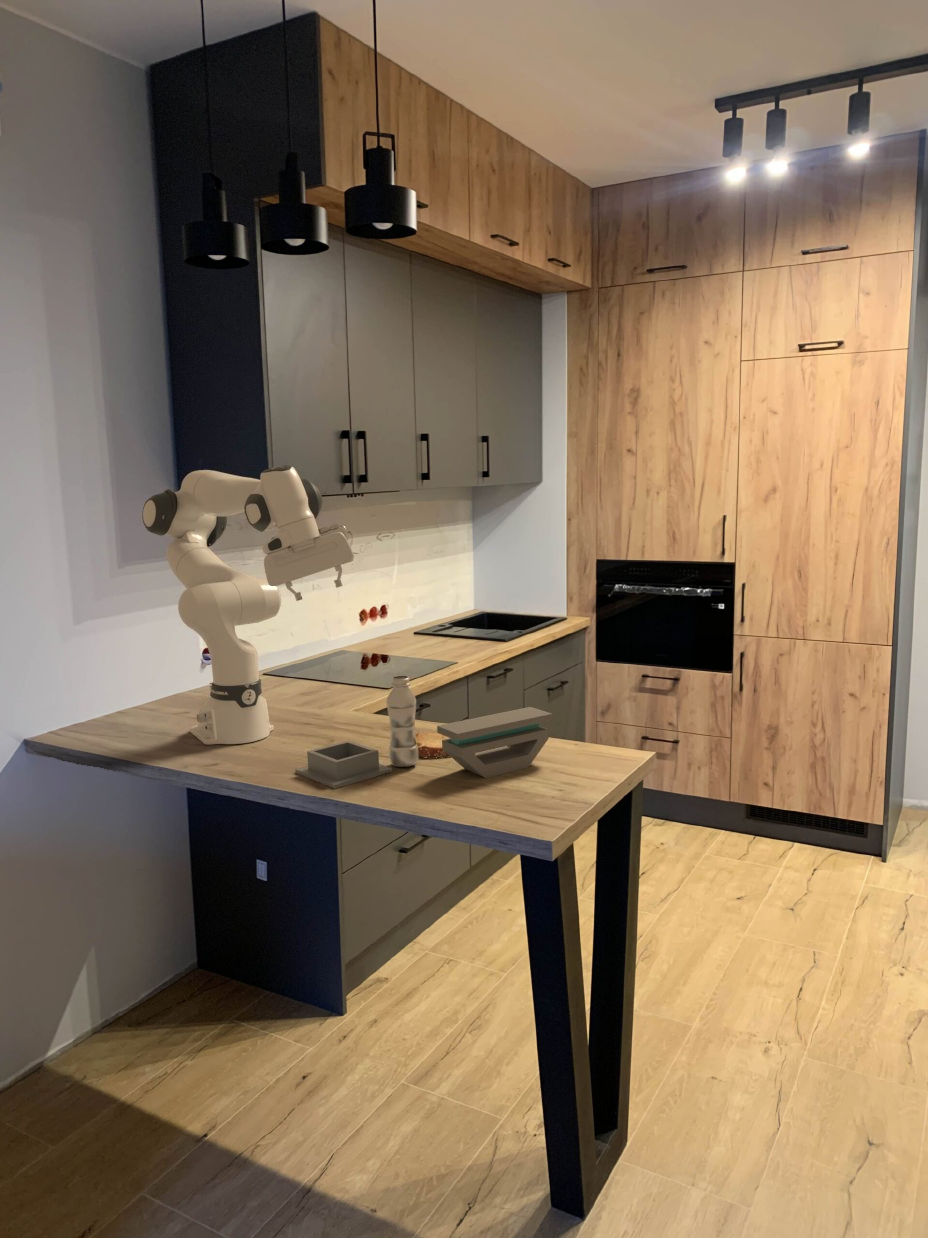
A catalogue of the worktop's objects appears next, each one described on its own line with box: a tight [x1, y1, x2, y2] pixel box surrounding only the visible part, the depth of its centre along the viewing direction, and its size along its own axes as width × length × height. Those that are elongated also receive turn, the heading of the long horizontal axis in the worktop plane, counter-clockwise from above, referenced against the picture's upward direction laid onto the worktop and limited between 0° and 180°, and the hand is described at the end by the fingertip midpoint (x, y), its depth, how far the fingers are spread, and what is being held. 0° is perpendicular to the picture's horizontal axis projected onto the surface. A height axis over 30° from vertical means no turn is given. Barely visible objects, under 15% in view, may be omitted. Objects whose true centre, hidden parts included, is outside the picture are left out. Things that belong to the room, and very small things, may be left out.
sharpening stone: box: [436, 706, 553, 779], centre depth 202 cm, size 25×8×11 cm, turn 124°
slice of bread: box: [415, 732, 449, 759], centre depth 218 cm, size 18×18×4 cm
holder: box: [295, 740, 393, 790], centre depth 202 cm, size 15×15×5 cm
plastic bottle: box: [385, 675, 420, 768], centre depth 204 cm, size 6×7×20 cm
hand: (319, 593), depth 211 cm, fingers open, 8 cm apart
